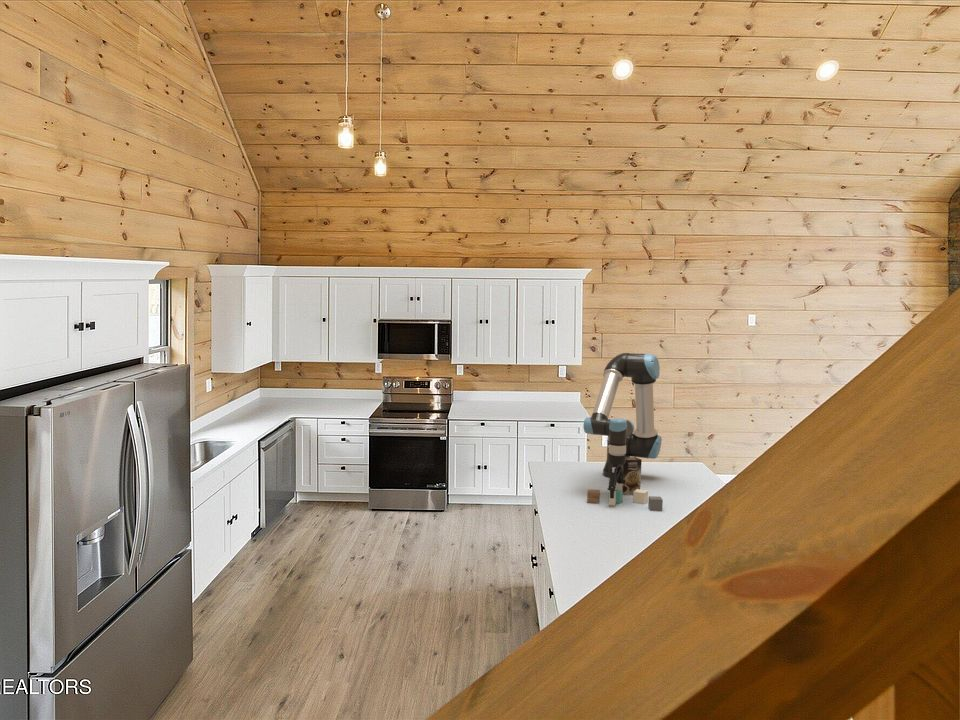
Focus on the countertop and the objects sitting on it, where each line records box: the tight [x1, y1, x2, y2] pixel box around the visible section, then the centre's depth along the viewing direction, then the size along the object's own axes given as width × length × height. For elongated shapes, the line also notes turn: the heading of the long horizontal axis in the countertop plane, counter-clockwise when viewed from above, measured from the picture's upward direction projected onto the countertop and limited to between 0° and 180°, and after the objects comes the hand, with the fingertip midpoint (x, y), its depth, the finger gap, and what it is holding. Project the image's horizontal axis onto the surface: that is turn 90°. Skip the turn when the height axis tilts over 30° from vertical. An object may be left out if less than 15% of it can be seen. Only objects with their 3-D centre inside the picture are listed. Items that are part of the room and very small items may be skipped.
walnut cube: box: [586, 488, 601, 505], centre depth 340 cm, size 5×5×5 cm
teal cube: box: [615, 489, 624, 505], centre depth 340 cm, size 5×5×5 cm
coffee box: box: [621, 456, 643, 495], centre depth 357 cm, size 9×6×16 cm
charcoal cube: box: [647, 495, 664, 512], centre depth 330 cm, size 5×5×5 cm
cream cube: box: [632, 488, 649, 505], centre depth 341 cm, size 5×5×5 cm
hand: (615, 501), depth 341 cm, fingers open, 13 cm apart
